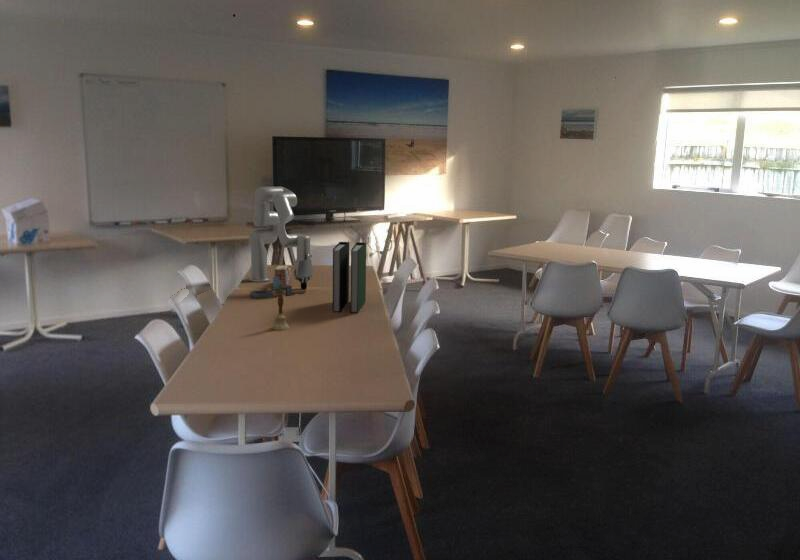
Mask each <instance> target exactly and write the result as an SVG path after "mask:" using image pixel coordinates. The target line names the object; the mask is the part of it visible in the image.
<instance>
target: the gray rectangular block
mask: <svg viewBox="0 0 800 560" xmlns="http://www.w3.org/2000/svg"><path fill="white" fill-rule="evenodd" d="M281 288H282V289H284V290H286V296H292V295H291V294H292V289H293V285H288V284H281Z"/></svg>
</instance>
